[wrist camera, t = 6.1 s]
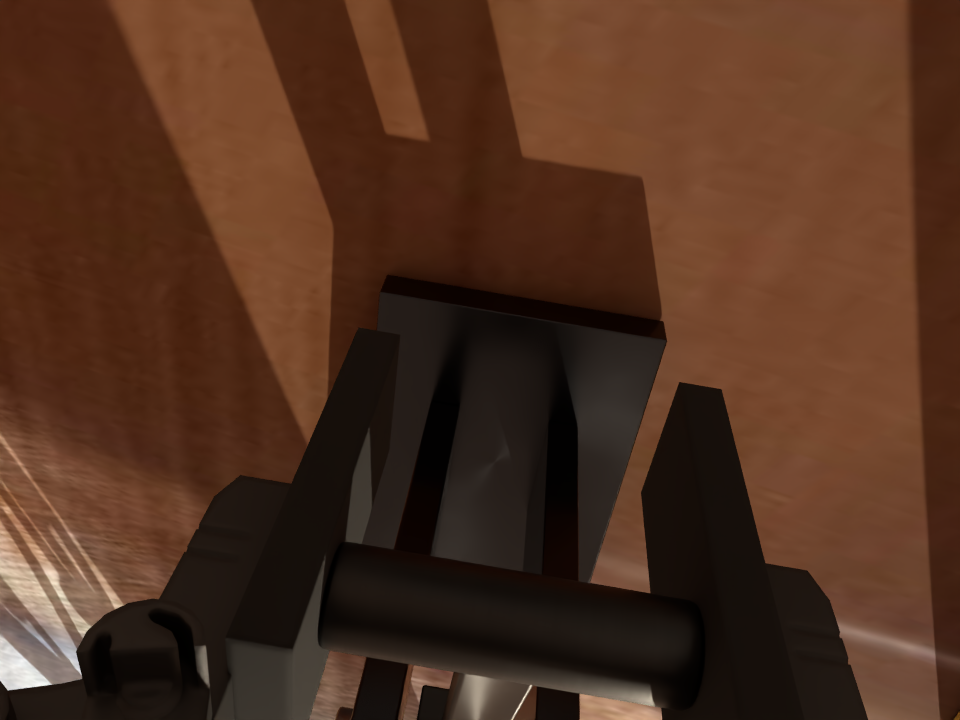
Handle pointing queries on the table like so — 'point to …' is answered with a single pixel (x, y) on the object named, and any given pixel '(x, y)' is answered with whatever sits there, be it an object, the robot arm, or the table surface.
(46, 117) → the table surface
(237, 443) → the table surface
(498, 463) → the bracket
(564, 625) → the lever
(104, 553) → the table surface
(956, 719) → the vase
